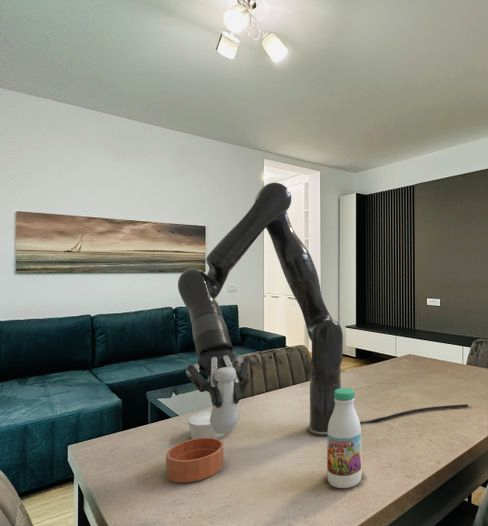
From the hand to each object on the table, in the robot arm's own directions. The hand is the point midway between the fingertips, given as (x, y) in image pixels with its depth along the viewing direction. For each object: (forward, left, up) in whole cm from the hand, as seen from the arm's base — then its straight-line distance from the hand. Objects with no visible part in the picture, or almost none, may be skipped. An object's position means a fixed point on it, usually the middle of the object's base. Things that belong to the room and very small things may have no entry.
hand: (228, 403), depth 78 cm
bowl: (+13, -11, -19) cm, 26 cm away
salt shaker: (+1, -2, -6) cm, 7 cm away
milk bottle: (-23, -8, -20) cm, 32 cm away
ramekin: (+19, -30, -20) cm, 40 cm away
